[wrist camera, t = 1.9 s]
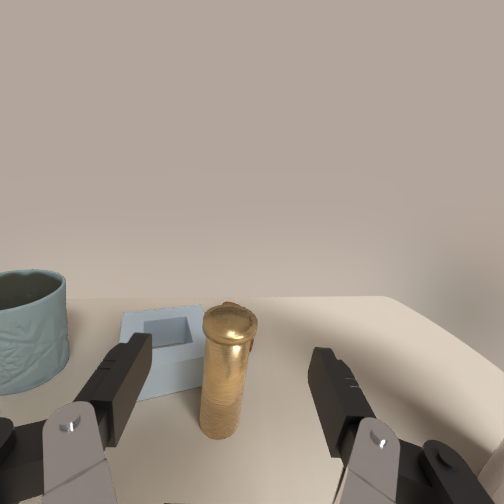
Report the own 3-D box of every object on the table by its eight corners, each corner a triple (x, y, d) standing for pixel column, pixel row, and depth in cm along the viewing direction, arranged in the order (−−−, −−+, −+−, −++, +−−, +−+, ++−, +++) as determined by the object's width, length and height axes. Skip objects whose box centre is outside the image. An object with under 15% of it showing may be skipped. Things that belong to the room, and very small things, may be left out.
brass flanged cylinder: (233, 393, 32) (245, 302, 28) (248, 434, 28) (266, 332, 23) (192, 404, 30) (198, 307, 25) (201, 450, 25) (210, 341, 21)
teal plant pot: (72, 333, 39) (62, 264, 35) (80, 377, 32) (69, 296, 28) (-22, 358, 32) (-48, 277, 28) (-38, 421, 25) (-75, 324, 21)
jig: (199, 328, 44) (201, 304, 42) (216, 382, 33) (219, 353, 32) (124, 339, 39) (122, 312, 37) (117, 406, 29) (115, 373, 27)
